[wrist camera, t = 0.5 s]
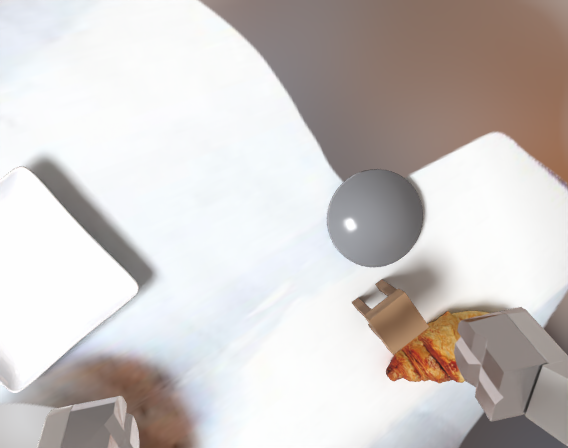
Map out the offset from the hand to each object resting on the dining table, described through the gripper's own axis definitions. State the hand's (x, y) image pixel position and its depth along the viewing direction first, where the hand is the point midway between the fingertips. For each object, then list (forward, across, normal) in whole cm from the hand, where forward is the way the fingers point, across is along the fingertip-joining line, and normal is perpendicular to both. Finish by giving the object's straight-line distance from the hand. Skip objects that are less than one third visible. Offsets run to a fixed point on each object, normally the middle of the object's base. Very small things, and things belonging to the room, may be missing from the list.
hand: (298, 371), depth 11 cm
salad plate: (+43, -30, -26) cm, 58 cm away
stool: (+38, +16, -39) cm, 57 cm away
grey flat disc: (+44, +18, -28) cm, 55 cm away
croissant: (+35, +26, -47) cm, 65 cm away
